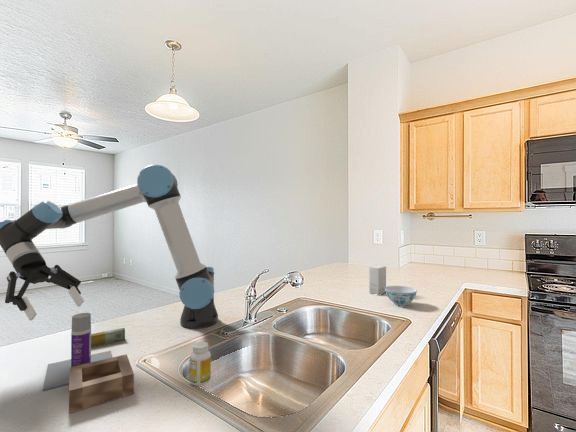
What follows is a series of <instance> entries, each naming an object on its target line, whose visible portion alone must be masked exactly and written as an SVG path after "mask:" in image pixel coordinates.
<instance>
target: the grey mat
mask: <svg viewBox="0 0 576 432" xmlns="http://www.w3.org/2000/svg"><path fill="white" fill-rule="evenodd" d="M112 357H113V354H112V350H107V351H103V352H98V353H97V352H96V353H94V354H93V353H92V354H91V362H95V361H99V360H104V359H108V358H112ZM46 366H47V367H46V372H45V376H44V377H45V378H44V382H43V388H42V391H43V392H44V391H48V390H51V389H56V388H60V387H64V386H69V377H70V367H71V359H66V360H61V361H57V362H52V363H48V364H47V365H46Z"/></svg>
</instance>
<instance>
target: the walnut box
mask: <svg viewBox="0 0 576 432" xmlns="http://www.w3.org/2000/svg"><path fill="white" fill-rule="evenodd" d="M134 393H135V374H134V370H133V367H132V365H131V362H130V360H129V357H128V354H122V355H118V356H117V355H116V356H114V357H113V356H112V358H108V359H104V360H99V361H95V362H91V363H86V364H82V365H78V366H73V367H70V377H69V385H68V414H72V413H74V412H78V411H81V410H85V409H88V408H92V407H94V406H95V407H96V406H98V405H101V404H105V403H108V402H112V401H114V400H118V399H120V398H121V399H122V398H125V397H127V396H132V395H134Z"/></svg>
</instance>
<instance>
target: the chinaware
mask: <svg viewBox="0 0 576 432" xmlns="http://www.w3.org/2000/svg"><path fill="white" fill-rule="evenodd" d="M385 292H386V293H385V294H386V297H387V298H388V299H389V300H390V302H393V303H394V304H395V305H394V304H393V305H394V306H396V305H400V306H399V307H407V306H406V305H408V306H409V304H410V303H412V302H413V301H414V299H415V298H416V296H417V292H418V291H417V289H416V288H413V287H410V286H406V285H405V286H404V285H389V286H386V287H385Z"/></svg>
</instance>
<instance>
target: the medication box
mask: <svg viewBox="0 0 576 432" xmlns="http://www.w3.org/2000/svg"><path fill="white" fill-rule="evenodd" d="M123 341H126V328H125V327H120V328H115V329H111V330H105V331H100V332H95V333H91V348H94V347H98V346H99V347H100V346H104V345H108V344H113V343H118V342H123Z"/></svg>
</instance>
